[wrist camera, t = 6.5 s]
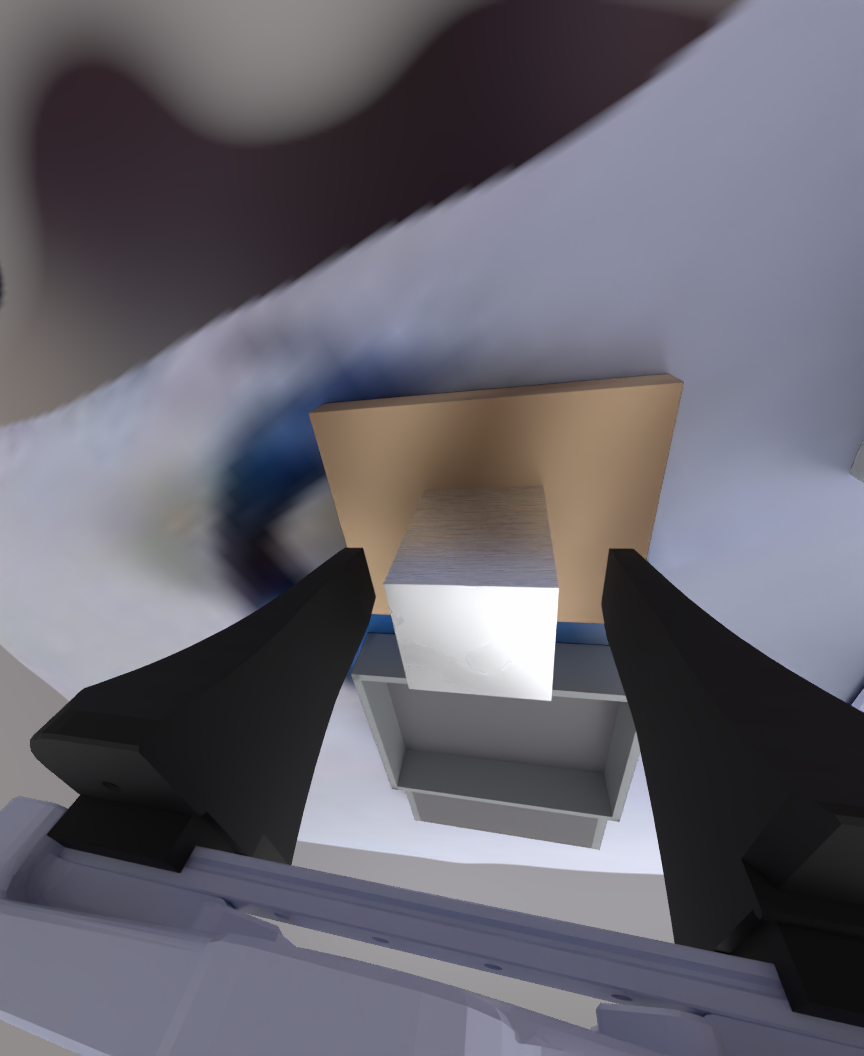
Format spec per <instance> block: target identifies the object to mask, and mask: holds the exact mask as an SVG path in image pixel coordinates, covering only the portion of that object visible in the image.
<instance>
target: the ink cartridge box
mask: <svg viewBox="0 0 864 1056" xmlns="http://www.w3.org/2000/svg"><path fill="white" fill-rule="evenodd" d="M850 473H851V475H852V476H854V477H855V478H857V479H858V480H860V481H862V482H864V438H863V441H862V443H861V446H860V448H859V451H858V453H857V455H856V458H855V460H854V463H853V466H852V468H851V470H850Z"/></svg>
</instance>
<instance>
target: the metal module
mask: <svg viewBox="0 0 864 1056" xmlns="http://www.w3.org/2000/svg"><path fill="white" fill-rule="evenodd" d="M384 588H385V592H386V597H387V601H388V605H389V609H390V613H391V617H392V621H393V625H394V629H395V633H396V638H397V642H398V646H399V650H400V654H401V658H402V662H403V666H404V670H405V675H406V679H407V683H408V687H409V689H416V690H428V691H439V692H451V693H463V694H475V695H487V696H498V697H510V698H522V699H534V700H546V701H551V698H552V683H553V668H554V653H555V638H556V623H557V609H558V594H559V585H558V579H557V572H556V566H555V559H554V552H553V546H552V539H551V532H550V526H549V519H548V512H547V506H546V499H545V493H544V486H534V487H503V488H471V489H439V490H424V491H423V494H422V496H421V498H420V500H419V503H418V505H417V507H416V510H415V512H414V514H413V517H412V519H411V521H410V524H409V526H408V528H407V531H406V533H405V535H404V537H403V540H402V542H401V544H400V547H399V549H398V551H397V554H396V556H395V558H394V561H393V563H392V565H391V567H390V570H389V572H388V574H387V577H386V579H385V581H384Z"/></svg>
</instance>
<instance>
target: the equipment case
mask: <svg viewBox="0 0 864 1056" xmlns="http://www.w3.org/2000/svg"><path fill="white" fill-rule="evenodd" d="M351 675H352V678H353V681H354V684H355V687H356V689H357V692H358V695H359V698H360V701H361V703H362V706H363V709H364V712H365V714H366V717H367V720H368V723H369V726H370V728H371V731H372V734H373V737H374V740H375V742H376V745H377V748H378V751H379V754H380V756H381V759H382V762H383V765H384V768H385V770H386V773H387V776H388V779H389V782H390V784H391V787H392V789H397V790H403V791H406V794H407V797H408V800H409V804H410V807H411V810H412V813H413V816H414V819H415V820H418V821H424V822H431V823H437V824H443V825H449V826H455V827H462V828H468V829H474V830H480V831H487V832H493V833H499V834H505V835H511V836H518V837H524V838H530V839H536V840H542V841H549V842H555V843H561V844H567V845H573V846H580V847H586V848H592V849H598V850H600V847H601V843H602V839H603V835H604V831H605V827H606V824H607V820H611V821H618V822H619V821H620V818H621V815H622V811H623V808H624V804H625V801H626V798H627V794H628V791H629V788H630V784H631V781H632V778H633V774H634V771H635V768H636V764H637V761H638V758H639V754H640V747H639V742H638V738H637V733H636V729H635V725H634V722H633V718H632V714H631V711H630V708H629V705H628V702H627V699H626V696H625V692H624V689H623V686H622V683H621V680H620V677H619V674H618V671H617V668H616V665H615V661H614V658H613V655H612V652H611V649H610V646H603V645H584V644H566V643H555V653H554V668H553V683H552V698H551V701H546V700H534V699H522V698H510V697H498V696H487V695H475V694H463V693H451V692H439V691H428V690H416V689H409V687H408V683H407V679H406V675H405V670H404V666H403V662H402V658H401V654H400V650H399V646H398V642H397V638H396V634H378V633H368V635H367V637H366V639H365V642H364V644H363V647H362V649H361V651H360V654H359V656H358V659H357V661H356V663H355V666H354V668H353V671H352V673H351Z"/></svg>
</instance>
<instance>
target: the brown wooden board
mask: <svg viewBox="0 0 864 1056" xmlns="http://www.w3.org/2000/svg"><path fill="white" fill-rule="evenodd" d="M683 384H684V382H682V381H680V380H679V379H677V378H675V377H673V376H672V375H670V374H659V375H648V376H636V377H625V378H613V379H602V380H590V381H579V382H567V383H556V384H544V385H533V386H521V387H510V388H498V389H487V390H475V391H464V392H452V393H441V394H429V395H418V396H406V397H395V398H383V399H372V400H360V401H349V402H337V403H325V404H322V405H321V406H319V407H318V408H316V409H314V410H313V411H311V412H310V413H309V416H310V420H311V423H312V427H313V430H314V434H315V437H316V441H317V444H318V448H319V451H320V455H321V458H322V461H323V465H324V468H325V472H326V475H327V479H328V482H329V486H330V489H331V493H332V496H333V500H334V503H335V506H336V510H337V513H338V517H339V520H340V524H341V527H342V531H343V534H344V538H345V541H346V545H347V548H363V549H364V553H365V557H366V560H367V564H368V568H369V572H370V576H371V579H372V583H373V587H374V591H375V595H376V599H375V603H374V607H373V610H372V614H388V615H391V613H390V609H389V605H388V601H387V597H386V592H385V588H384V581H385V579H386V577H387V574H388V572H389V570H390V567H391V565H392V563H393V561H394V558H395V556H396V554H397V551H398V549H399V547H400V544H401V542H402V540H403V537H404V535H405V533H406V531H407V528H408V526H409V524H410V521H411V519H412V517H413V514H414V512H415V510H416V507H417V505H418V503H419V500H420V498H421V496H422V494H423V491H424V490H439V489H471V488H503V487H534V486H544V493H545V499H546V506H547V512H548V519H549V526H550V532H551V539H552V546H553V552H554V559H555V566H556V572H557V579H558V585H559V594H558V609H557V622H580V623H604V619H603V613H602V607H601V601H602V594H603V587H604V580H605V573H606V567H607V560H608V553H609V548H632V549H635V550H636V551H637V552H638V553H639V554H640V555H641V556H642V557H643V558H644V559H645V560H646V559H647V554H648V549H649V545H650V540H651V535H652V530H653V526H654V521H655V516H656V512H657V507H658V502H659V497H660V493H661V488H662V483H663V479H664V474H665V469H666V464H667V460H668V455H669V450H670V445H671V441H672V436H673V431H674V427H675V422H676V417H677V412H678V408H679V403H680V398H681V394H682V389H683Z"/></svg>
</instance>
